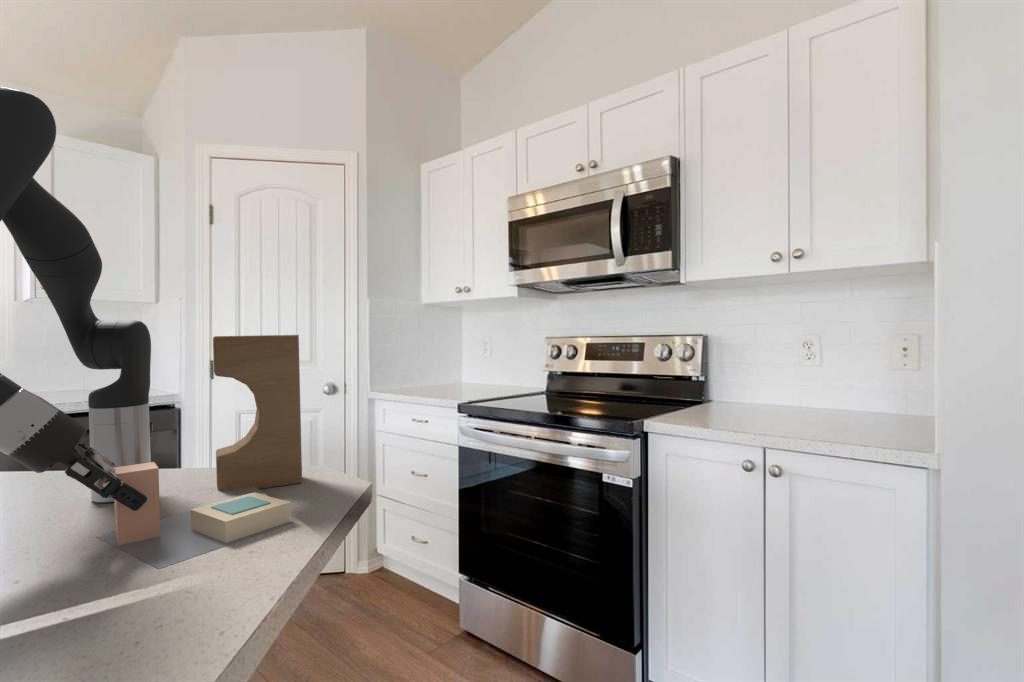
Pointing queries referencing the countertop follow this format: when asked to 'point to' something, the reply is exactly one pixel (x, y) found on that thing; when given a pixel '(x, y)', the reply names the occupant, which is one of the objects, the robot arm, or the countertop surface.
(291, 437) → the decorative block
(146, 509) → the terracotta block
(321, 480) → the countertop surface
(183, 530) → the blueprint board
